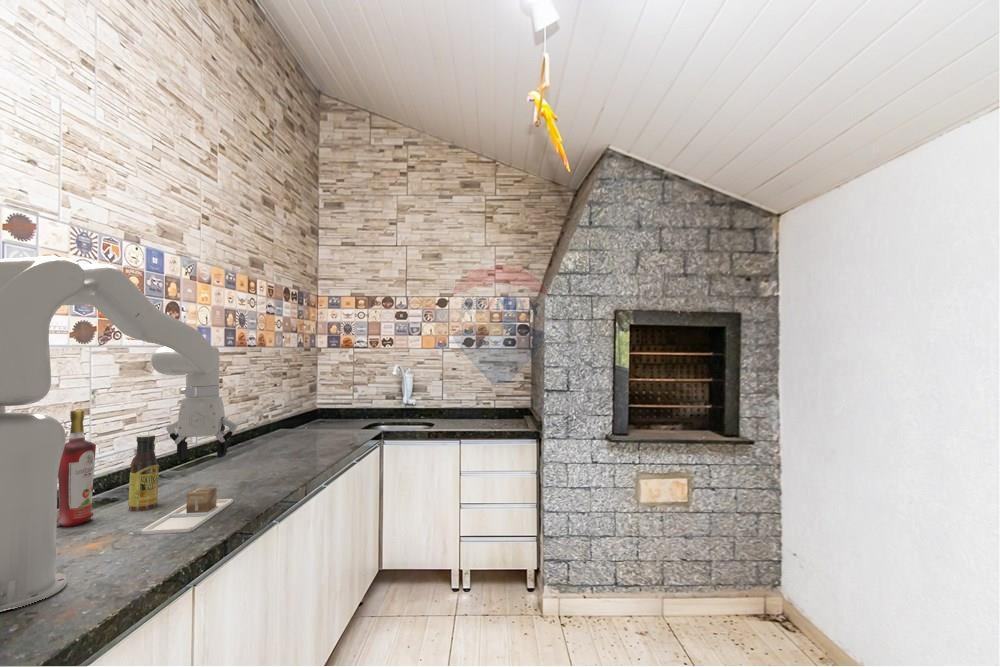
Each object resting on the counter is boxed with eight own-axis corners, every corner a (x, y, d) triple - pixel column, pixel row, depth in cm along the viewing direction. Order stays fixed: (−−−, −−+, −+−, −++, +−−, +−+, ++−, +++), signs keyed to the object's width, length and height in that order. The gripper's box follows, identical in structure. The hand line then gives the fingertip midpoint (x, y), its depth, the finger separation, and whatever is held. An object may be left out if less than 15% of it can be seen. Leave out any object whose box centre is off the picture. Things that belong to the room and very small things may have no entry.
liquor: (78, 517, 122) (80, 408, 123) (102, 518, 120) (104, 408, 121) (46, 527, 114) (49, 412, 115) (71, 529, 113) (74, 412, 114)
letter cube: (206, 512, 122) (206, 492, 122) (186, 513, 121) (186, 493, 121) (216, 506, 127) (216, 486, 127) (196, 506, 126) (196, 487, 126)
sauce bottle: (141, 514, 123) (142, 438, 124) (121, 513, 124) (123, 437, 125) (164, 506, 129) (165, 433, 130) (145, 505, 130) (146, 433, 131)
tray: (190, 535, 108) (190, 528, 108) (138, 538, 107) (139, 531, 107) (233, 504, 130) (233, 498, 130) (191, 506, 129) (191, 500, 129)
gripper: (159, 394, 120) (158, 462, 120) (230, 393, 122) (230, 459, 122) (175, 392, 128) (175, 455, 127) (243, 390, 130) (242, 453, 129)
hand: (202, 457), depth 124 cm, fingers open, 9 cm apart
